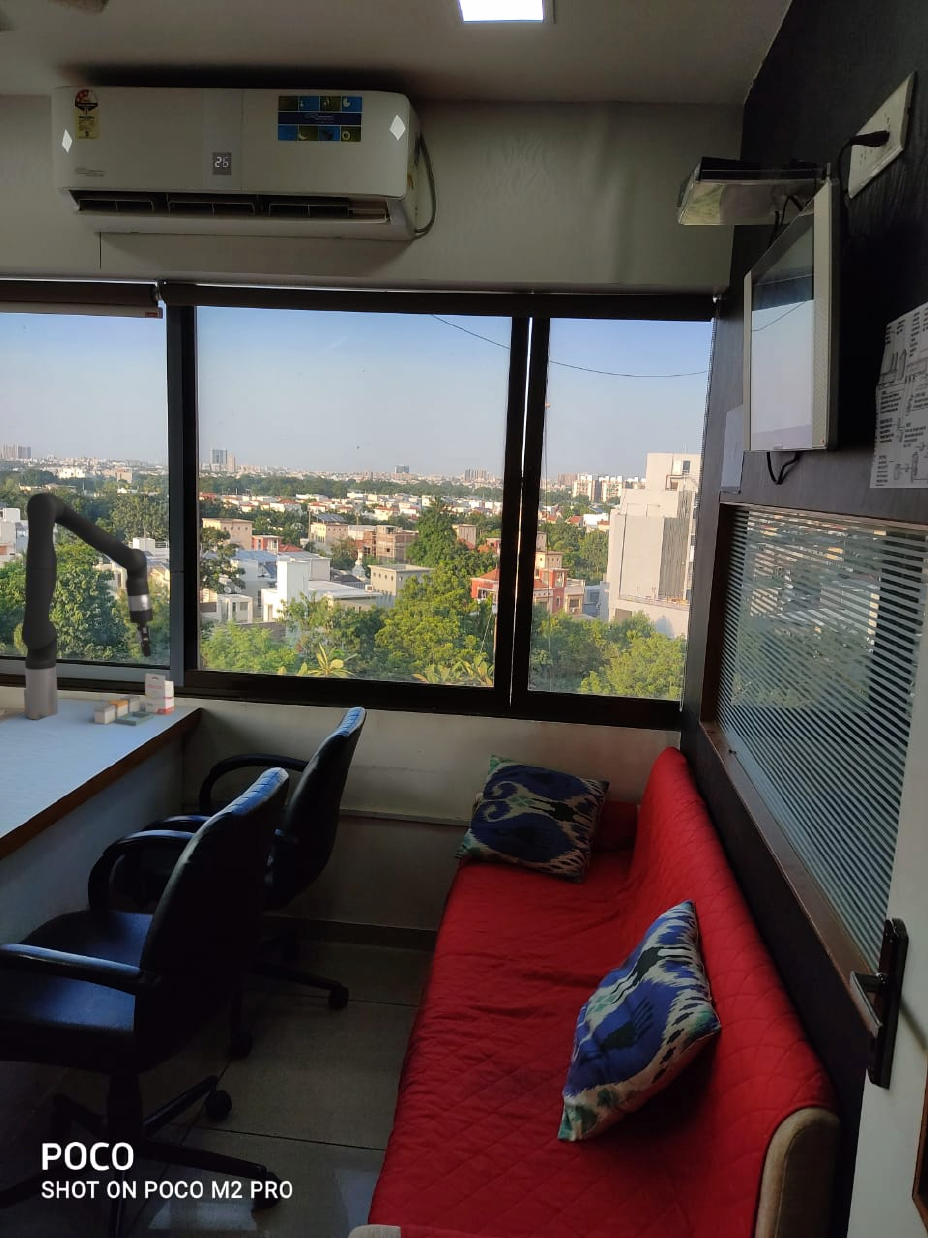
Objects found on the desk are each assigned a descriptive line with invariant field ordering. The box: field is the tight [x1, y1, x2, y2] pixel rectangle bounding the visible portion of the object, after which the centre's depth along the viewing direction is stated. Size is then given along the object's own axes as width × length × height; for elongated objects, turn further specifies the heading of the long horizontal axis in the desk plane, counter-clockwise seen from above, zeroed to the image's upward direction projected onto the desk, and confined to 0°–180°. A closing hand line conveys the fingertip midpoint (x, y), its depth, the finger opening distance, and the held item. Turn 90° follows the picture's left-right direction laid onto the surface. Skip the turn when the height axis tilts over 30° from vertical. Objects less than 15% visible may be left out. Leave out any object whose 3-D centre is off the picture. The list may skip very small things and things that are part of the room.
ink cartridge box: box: [144, 673, 175, 715], centre depth 290 cm, size 9×5×15 cm, turn 73°
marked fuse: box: [106, 698, 128, 717], centre depth 283 cm, size 4×5×5 cm
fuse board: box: [89, 694, 144, 726], centre depth 283 cm, size 7×19×6 cm, turn 165°
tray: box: [114, 711, 154, 727], centre depth 280 cm, size 8×9×2 cm
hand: (146, 654), depth 286 cm, fingers open, 8 cm apart
